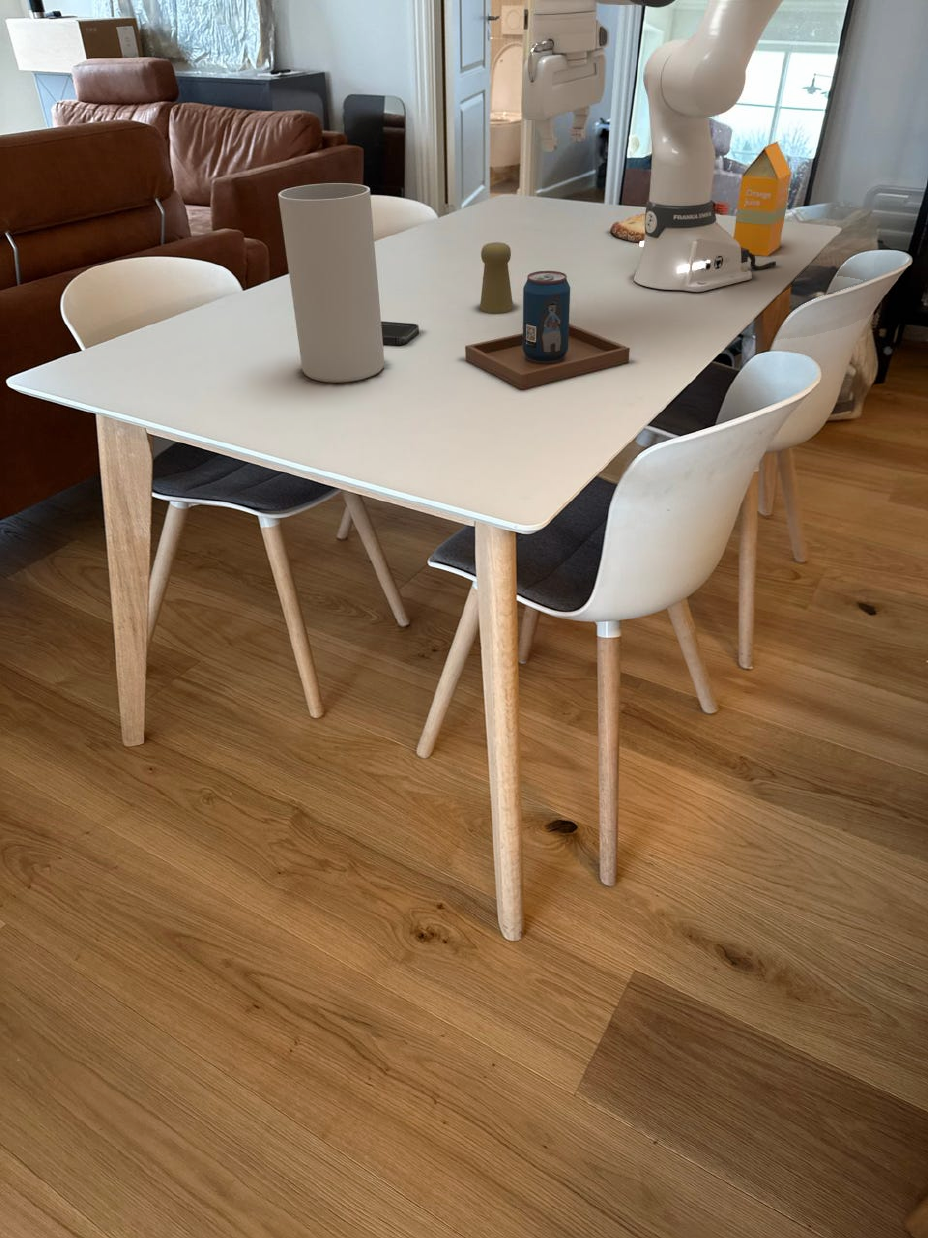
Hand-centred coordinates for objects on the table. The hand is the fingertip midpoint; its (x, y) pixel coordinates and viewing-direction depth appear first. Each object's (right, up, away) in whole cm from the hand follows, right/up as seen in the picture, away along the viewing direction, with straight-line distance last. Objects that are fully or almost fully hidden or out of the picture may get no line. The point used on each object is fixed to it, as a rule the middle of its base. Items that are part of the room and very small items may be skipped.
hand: (563, 145), depth 136 cm
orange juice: (+47, +7, +55) cm, 73 cm away
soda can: (-3, -31, +2) cm, 31 cm away
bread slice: (+28, +15, +68) cm, 75 cm away
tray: (-2, -32, +2) cm, 32 cm away
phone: (-31, -24, +15) cm, 42 cm away
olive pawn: (-9, -16, +26) cm, 32 cm away
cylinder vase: (-33, -33, +2) cm, 47 cm away
